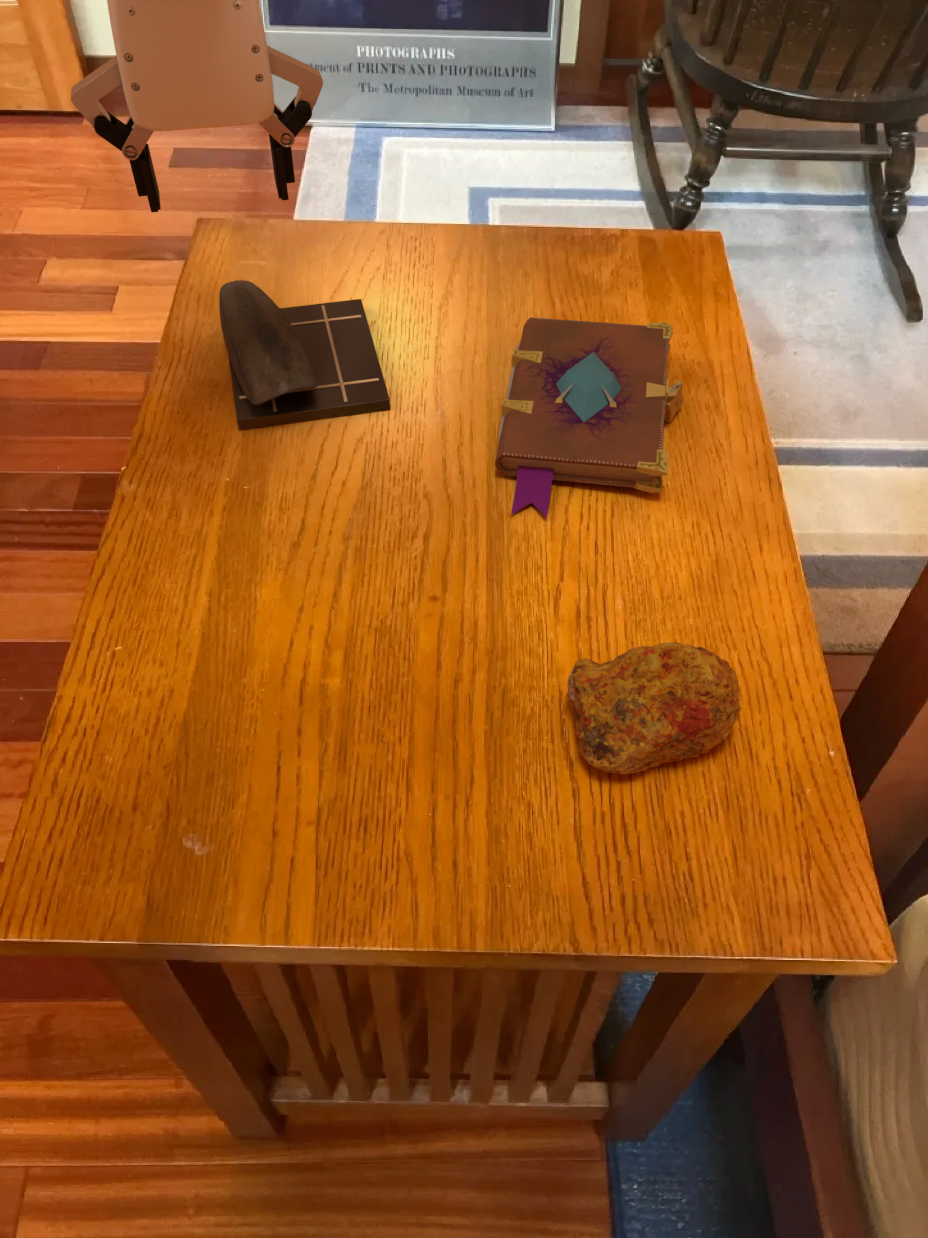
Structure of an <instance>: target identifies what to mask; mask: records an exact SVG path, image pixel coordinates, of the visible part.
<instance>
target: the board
mask: <svg viewBox="0 0 928 1238" xmlns="http://www.w3.org/2000/svg"><path fill="white" fill-rule="evenodd" d="M279 308H280V309H281V311H282V312H283V313H284V315H285V316H286V318H287V319H288V320H289V322H290V324H291V325H292V327H293V329H294V331H295V332H296V334H297V336H298V338H299V341H300V343H301V345H302V347H303V349H304V352H305V354H306V356H307V358H308V360H309V363H310V365H311V368H312V370H313V373H314V375H315V378H316V381H317V383H318V386H317V387H316V388H312V389H300V390H297V391H293V392H289V393H286V394H283V395H280V396H278V397H276V398H274V399H272V400H270V401H267V402H265V403H263V404H260V405H253V404H252V403H251V402H250V401H249V399H248V398H247V397H246V395H245V393H244V392H243V389H242V387H241V385H240V383H239V381H238V378H237V376H236V373H235V371H234V368H233V366H232V363H231V360H230V357H229V354H228V353H227V357H228V364H229V371H230V378H231V379H230V380H231V385H232V394H233V402H234V408H235V415H236V416H235V417H236V423H237V427H238V430H239V431H244V430H252V429H258V428H267V427H274V426H281V425H289V424H295V423H302V422H309V421H317V420H323V419H331V418H340V417H345V416H347V417H348V416H353V415H360V414H362V415H363V414H367V413H368V414H369V413H375V412H382V411H389V410H390V411H391V400H390V396H389V392H388V389H387V385H386V381H385V378H384V374H383V372H382V367H381V365H380V364H381V363H380V361H379V357H378V354H377V349H376V346H375V343H374V339H373V336H372V331H371V328H370V326H369V322H368V319H367V318H368V317H367V315H366V310H365V308H364V303H363V301H362V299H361V298H357V299H348V300H339V301H330V302H322V303H314V304H313V303H312V304H305V305H297V306H289V307H279Z"/></svg>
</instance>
